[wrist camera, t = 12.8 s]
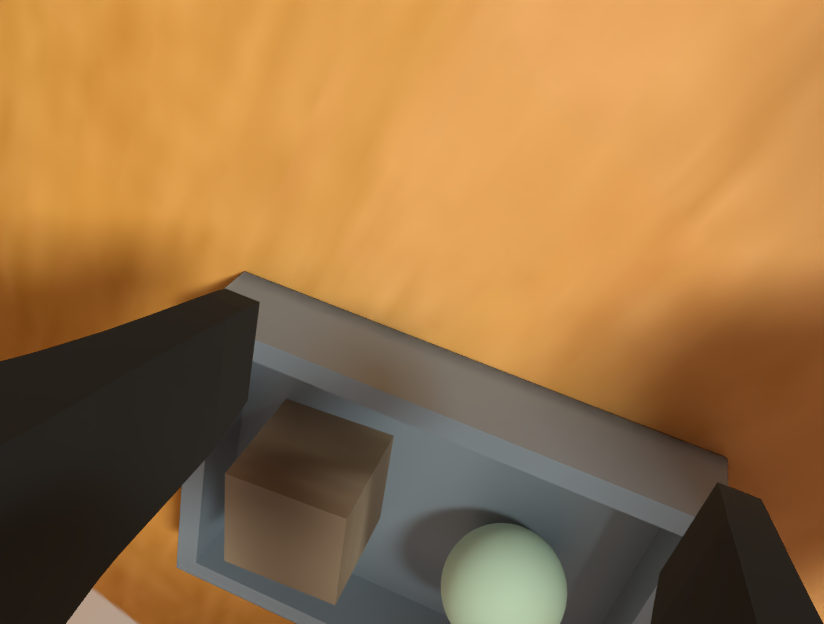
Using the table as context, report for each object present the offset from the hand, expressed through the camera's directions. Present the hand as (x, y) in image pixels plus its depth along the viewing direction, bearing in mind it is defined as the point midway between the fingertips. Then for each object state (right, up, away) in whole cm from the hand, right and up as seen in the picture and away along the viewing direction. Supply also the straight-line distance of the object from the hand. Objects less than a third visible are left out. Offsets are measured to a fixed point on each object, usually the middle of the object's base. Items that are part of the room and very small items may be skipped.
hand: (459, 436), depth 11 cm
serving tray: (0, -4, +15) cm, 16 cm away
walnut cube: (-4, -3, +15) cm, 16 cm away
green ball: (+3, -6, +14) cm, 16 cm away
